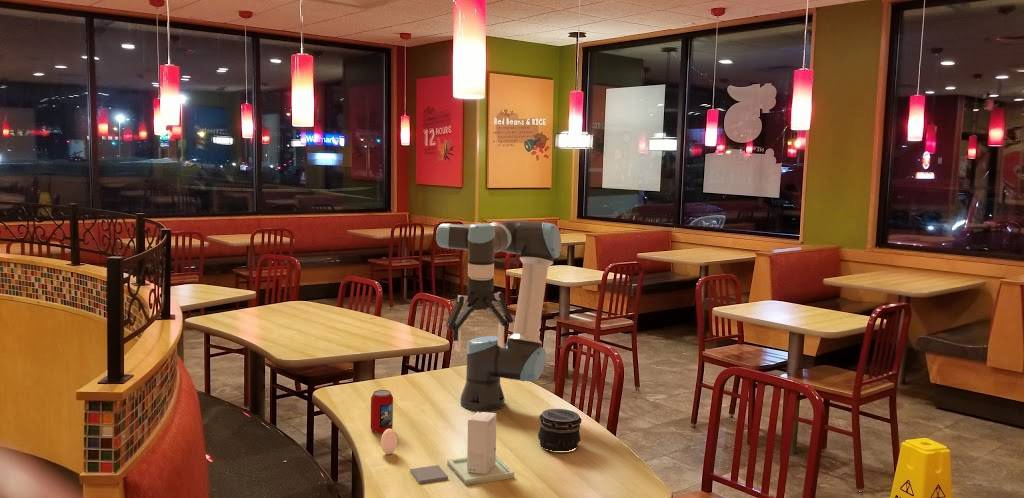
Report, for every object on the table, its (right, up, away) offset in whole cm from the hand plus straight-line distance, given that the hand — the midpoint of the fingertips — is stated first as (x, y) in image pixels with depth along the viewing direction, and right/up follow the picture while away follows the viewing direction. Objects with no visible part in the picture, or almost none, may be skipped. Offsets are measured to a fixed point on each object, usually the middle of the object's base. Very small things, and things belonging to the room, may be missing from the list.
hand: (479, 348), depth 232 cm
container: (+23, -30, +5) cm, 38 cm away
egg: (-26, -30, -5) cm, 39 cm away
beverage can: (-31, -27, +13) cm, 43 cm away
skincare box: (+1, -31, -15) cm, 34 cm away
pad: (-13, -32, -19) cm, 39 cm away
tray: (+1, -32, -15) cm, 35 cm away
